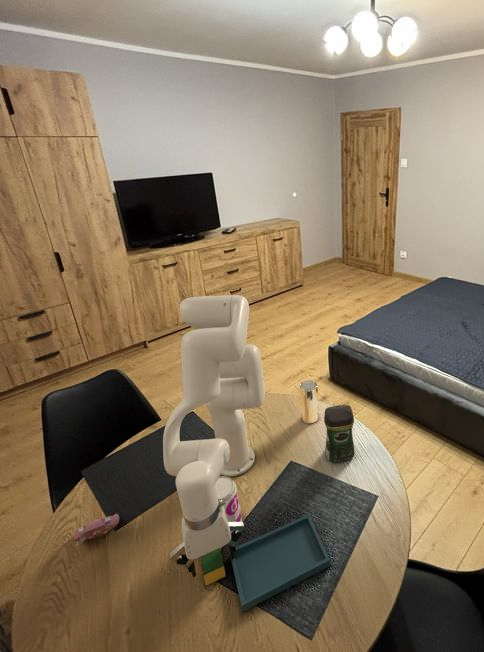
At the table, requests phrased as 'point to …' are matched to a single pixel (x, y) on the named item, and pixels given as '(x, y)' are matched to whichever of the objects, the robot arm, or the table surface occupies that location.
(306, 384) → the silver metal cylinder
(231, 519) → the supplement can
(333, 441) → the coffee jar
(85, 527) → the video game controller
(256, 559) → the tray
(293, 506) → the table surface
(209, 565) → the sponge
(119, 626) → the table surface
